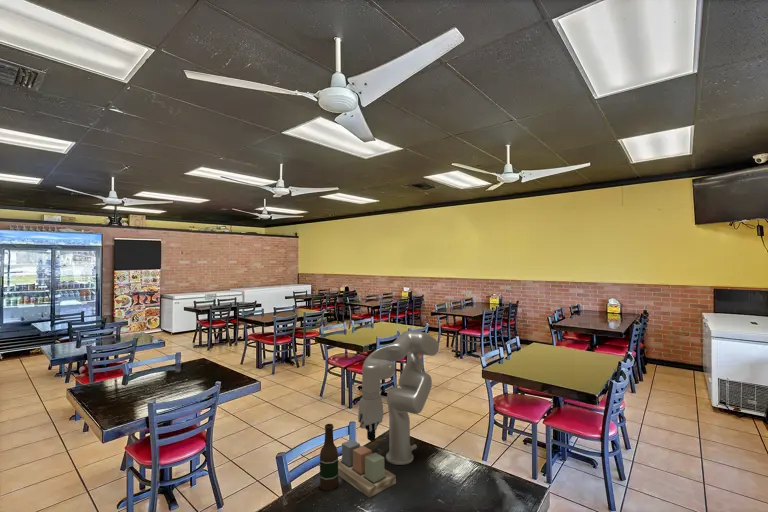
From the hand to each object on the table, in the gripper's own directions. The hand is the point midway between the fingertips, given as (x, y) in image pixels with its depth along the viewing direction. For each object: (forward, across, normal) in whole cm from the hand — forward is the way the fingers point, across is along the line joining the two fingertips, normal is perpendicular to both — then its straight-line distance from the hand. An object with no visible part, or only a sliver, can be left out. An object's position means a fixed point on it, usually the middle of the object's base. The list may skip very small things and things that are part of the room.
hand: (371, 439), depth 148 cm
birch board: (+17, 0, -6) cm, 18 cm away
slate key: (+14, 0, -14) cm, 20 cm away
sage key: (+15, -1, +2) cm, 15 cm away
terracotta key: (+14, 0, -6) cm, 16 cm away
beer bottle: (+18, +14, -10) cm, 24 cm away
